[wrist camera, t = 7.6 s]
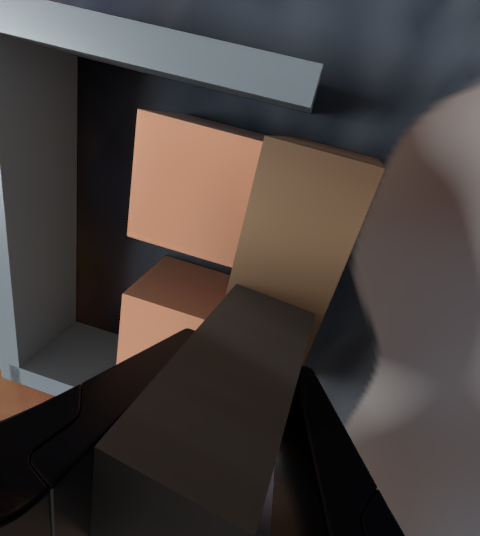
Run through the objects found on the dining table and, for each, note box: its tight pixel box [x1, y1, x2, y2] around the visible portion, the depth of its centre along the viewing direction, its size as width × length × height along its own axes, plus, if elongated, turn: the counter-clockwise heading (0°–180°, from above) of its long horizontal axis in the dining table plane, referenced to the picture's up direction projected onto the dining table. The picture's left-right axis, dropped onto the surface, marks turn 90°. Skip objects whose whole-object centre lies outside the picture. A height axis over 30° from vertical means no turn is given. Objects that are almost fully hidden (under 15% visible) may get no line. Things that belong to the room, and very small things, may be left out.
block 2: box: [116, 256, 230, 365], centre depth 15 cm, size 4×4×4 cm
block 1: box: [127, 109, 268, 268], centre depth 12 cm, size 4×4×4 cm
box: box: [0, 0, 323, 396], centre depth 14 cm, size 15×10×4 cm
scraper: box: [90, 136, 386, 536], centre depth 9 cm, size 11×3×10 cm, turn 167°
